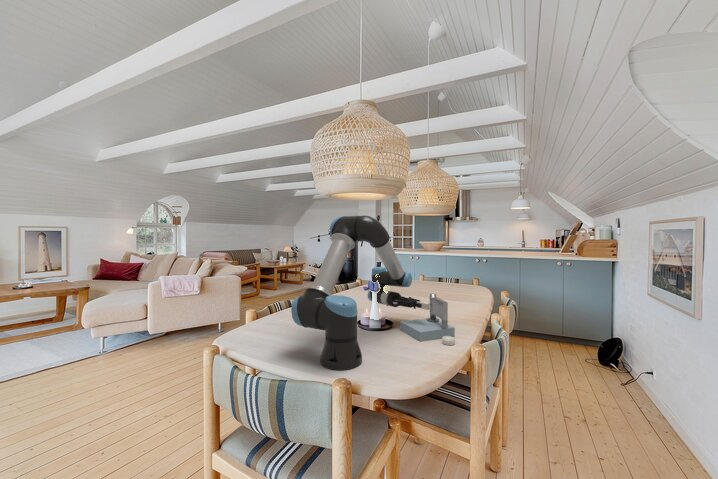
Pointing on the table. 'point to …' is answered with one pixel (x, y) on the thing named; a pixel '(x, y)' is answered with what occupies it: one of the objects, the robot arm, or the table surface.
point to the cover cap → (448, 340)
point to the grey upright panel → (439, 310)
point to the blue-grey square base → (426, 329)
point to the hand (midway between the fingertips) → (428, 306)
